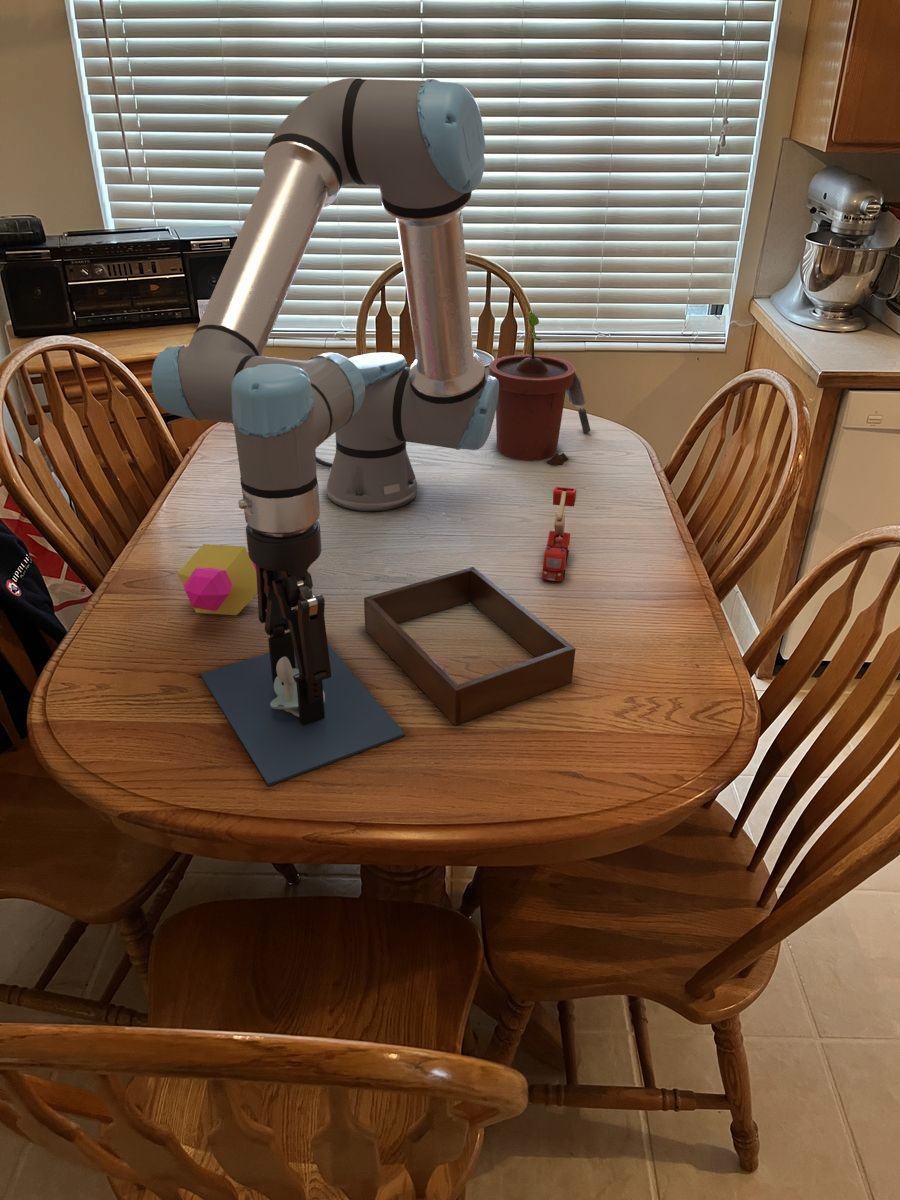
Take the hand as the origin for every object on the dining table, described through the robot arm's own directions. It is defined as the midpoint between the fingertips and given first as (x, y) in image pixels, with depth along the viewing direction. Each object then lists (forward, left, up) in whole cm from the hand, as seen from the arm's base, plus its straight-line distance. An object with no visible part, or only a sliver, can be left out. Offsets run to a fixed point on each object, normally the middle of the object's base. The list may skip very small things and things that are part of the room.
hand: (298, 700), depth 103 cm
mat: (0, 0, -1) cm, 1 cm away
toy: (-25, 0, -1) cm, 25 cm away
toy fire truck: (-13, +47, -1) cm, 49 cm away
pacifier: (0, 0, 0) cm, 1 cm away
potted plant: (-51, +72, -1) cm, 88 cm away
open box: (+1, +22, -1) cm, 22 cm away
